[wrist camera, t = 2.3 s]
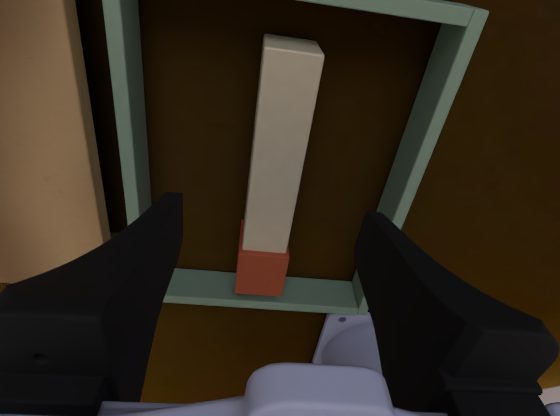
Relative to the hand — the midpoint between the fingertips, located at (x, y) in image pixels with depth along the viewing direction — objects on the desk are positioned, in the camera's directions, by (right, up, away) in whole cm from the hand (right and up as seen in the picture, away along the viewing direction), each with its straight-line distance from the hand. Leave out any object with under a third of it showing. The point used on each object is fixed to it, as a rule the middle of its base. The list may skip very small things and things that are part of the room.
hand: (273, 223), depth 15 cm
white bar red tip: (0, +3, +4) cm, 5 cm away
